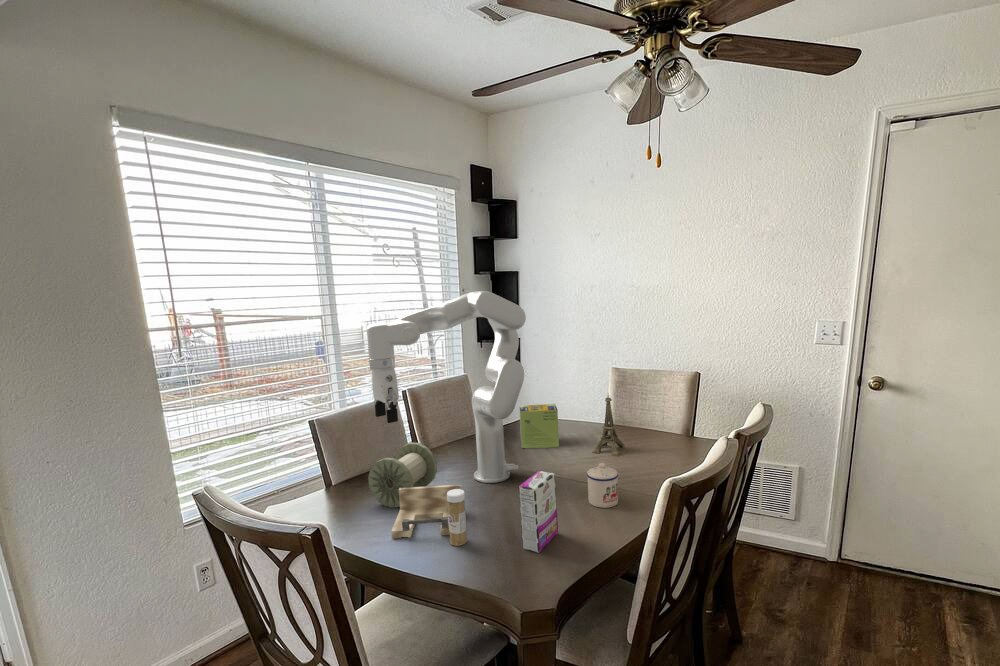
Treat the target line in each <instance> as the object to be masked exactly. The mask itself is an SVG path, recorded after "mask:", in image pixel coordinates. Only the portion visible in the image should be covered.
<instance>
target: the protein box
mask: <svg viewBox="0 0 1000 666" xmlns="http://www.w3.org/2000/svg"><path fill="white" fill-rule="evenodd" d="M518 408H519V426H520V432H519V433H520V445H521V449H522V448H525V449H547V448H549V449H550V448H560V438H559V435H560V434H559V413H558V408H557V405H556V404H555V403H549V404H546V403H545V404H529V405H528V404H527V405H526V404H525V405H519V407H518Z"/></svg>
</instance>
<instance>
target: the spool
mask: <svg viewBox="0 0 1000 666" xmlns="http://www.w3.org/2000/svg"><path fill="white" fill-rule="evenodd" d="M369 470H370V471H369V473H368V477H367V479H368V487H369V489H370V492H371V494H372V496H373V497H374V499H376V501H377V502H378V503H380V504H382V505H383V506H385V507H386V506H389V507H388V508H393V507H396V508H398V507H399V508H400V501H399V488H409V487H425V486H430V484H431V483H432V482H433V481H434V480H435V478H436V475H437V473H438V472H437V471H438V465H437V460H436V457H435V455H434V453H433V452H432V451H431V449H429V447H427V446H426V445H425V444H422V443H420V442H410V443H406V444H404V445H402V446H401V448H400V449H398V450H397V452H396V456H395V458H393V457H385V458H382V459H380V460H377V461H376V462H375V463H374V464H373V465H372V467H370V469H369ZM396 508H395V509H396Z"/></svg>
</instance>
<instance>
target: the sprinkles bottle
mask: <svg viewBox="0 0 1000 666" xmlns="http://www.w3.org/2000/svg"><path fill="white" fill-rule="evenodd" d="M465 498H466V493H465V491H464V490H463V489H462V488H461V489H453V490H450V491H448V492H447V501H448V510H449V531H450V535H449V543H450V545H452V546H455V547H459V546H460V547H461V546H463V545H465V544H466V543H467V541H468V539H467V519H466V507H465V501H466V500H465Z"/></svg>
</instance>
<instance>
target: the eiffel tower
mask: <svg viewBox="0 0 1000 666" xmlns="http://www.w3.org/2000/svg"><path fill="white" fill-rule="evenodd" d="M612 401H613V399H612V397H610V395H609V394H607V397H605V400H604V402H606V403H605V416H604V425H602V429H603V431H602V436H601V437H600V440H599V442H598V443H597V445H596V446H595V448H594V450H593V451H592V452H591V454H597V455H600V454H601V453H602V449H603V448H606V449H607V448H608V447H609V445H611V451H612V453H611V457H615V458H616V457H618V458H619V457H620V456H621V455H622V454H621V453H620V451H626V450H628V447H626V446H625V444H624V443H623V442H622V440H621V439H620V438H619V435H617V432H616V427H617V426H616V424H615V423H614V417H613V412H612V404H611V402H612ZM617 447H618V448H617Z"/></svg>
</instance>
